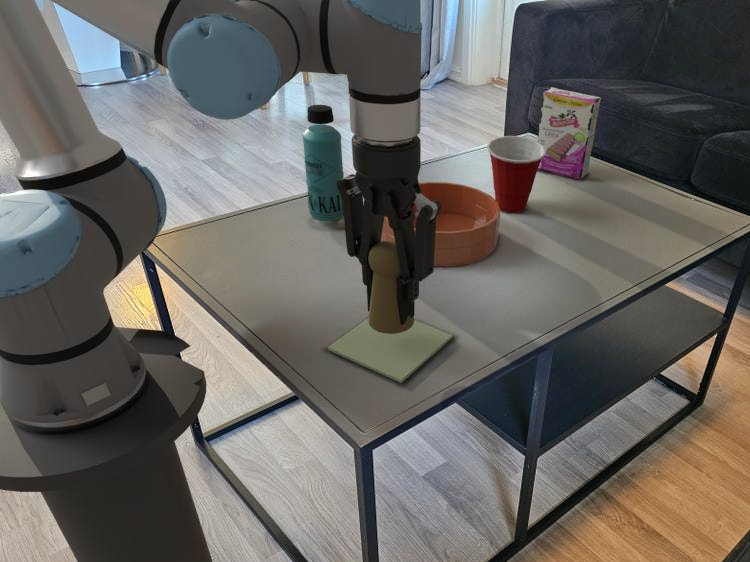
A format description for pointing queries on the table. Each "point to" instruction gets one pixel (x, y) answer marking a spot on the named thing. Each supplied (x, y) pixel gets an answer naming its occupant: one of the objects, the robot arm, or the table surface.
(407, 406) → the table surface
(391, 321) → the brown peg doll
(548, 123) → the candy bar box
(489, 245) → the bowl
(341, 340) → the coaster
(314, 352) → the table surface
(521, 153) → the plastic cup
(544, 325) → the table surface
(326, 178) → the beverage bottle
